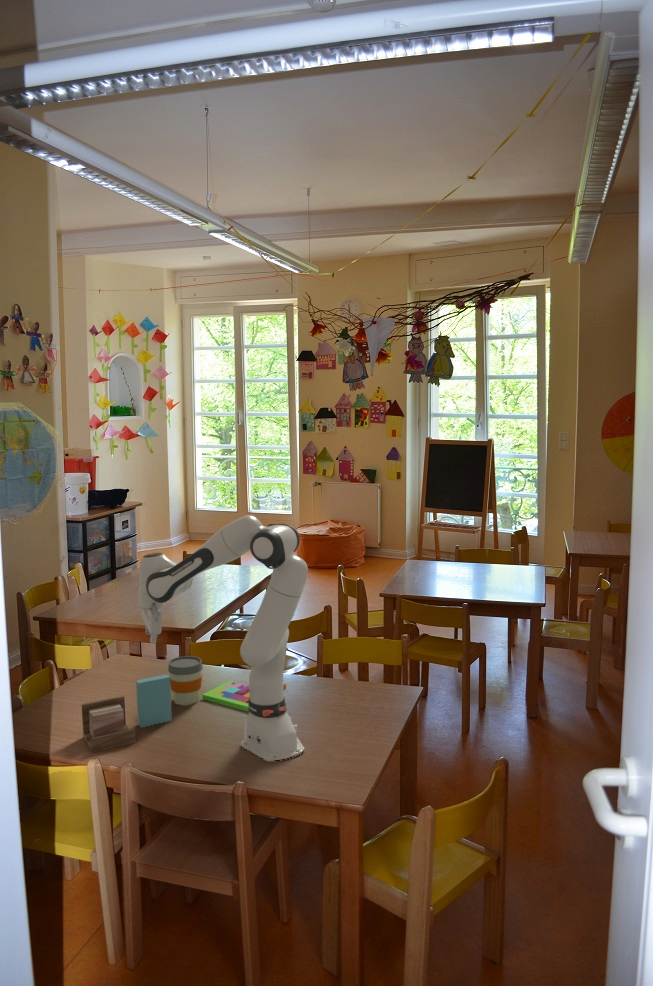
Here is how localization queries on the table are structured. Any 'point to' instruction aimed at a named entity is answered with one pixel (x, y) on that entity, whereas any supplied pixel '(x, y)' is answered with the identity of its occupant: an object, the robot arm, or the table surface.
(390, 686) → the table surface
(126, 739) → the stand
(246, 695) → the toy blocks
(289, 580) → the robot arm
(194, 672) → the reusable coffee cup
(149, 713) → the teal book
